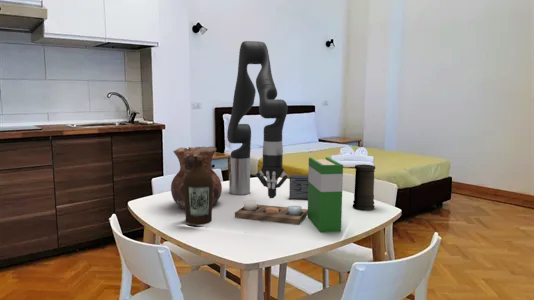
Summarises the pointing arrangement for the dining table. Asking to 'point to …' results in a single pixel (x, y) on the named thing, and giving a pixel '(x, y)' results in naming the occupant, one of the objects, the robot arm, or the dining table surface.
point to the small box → (298, 187)
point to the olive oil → (198, 194)
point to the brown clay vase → (186, 165)
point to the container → (364, 187)
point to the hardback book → (325, 194)
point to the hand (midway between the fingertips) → (272, 197)
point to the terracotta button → (272, 210)
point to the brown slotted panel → (271, 215)
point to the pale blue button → (295, 210)
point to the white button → (250, 206)
